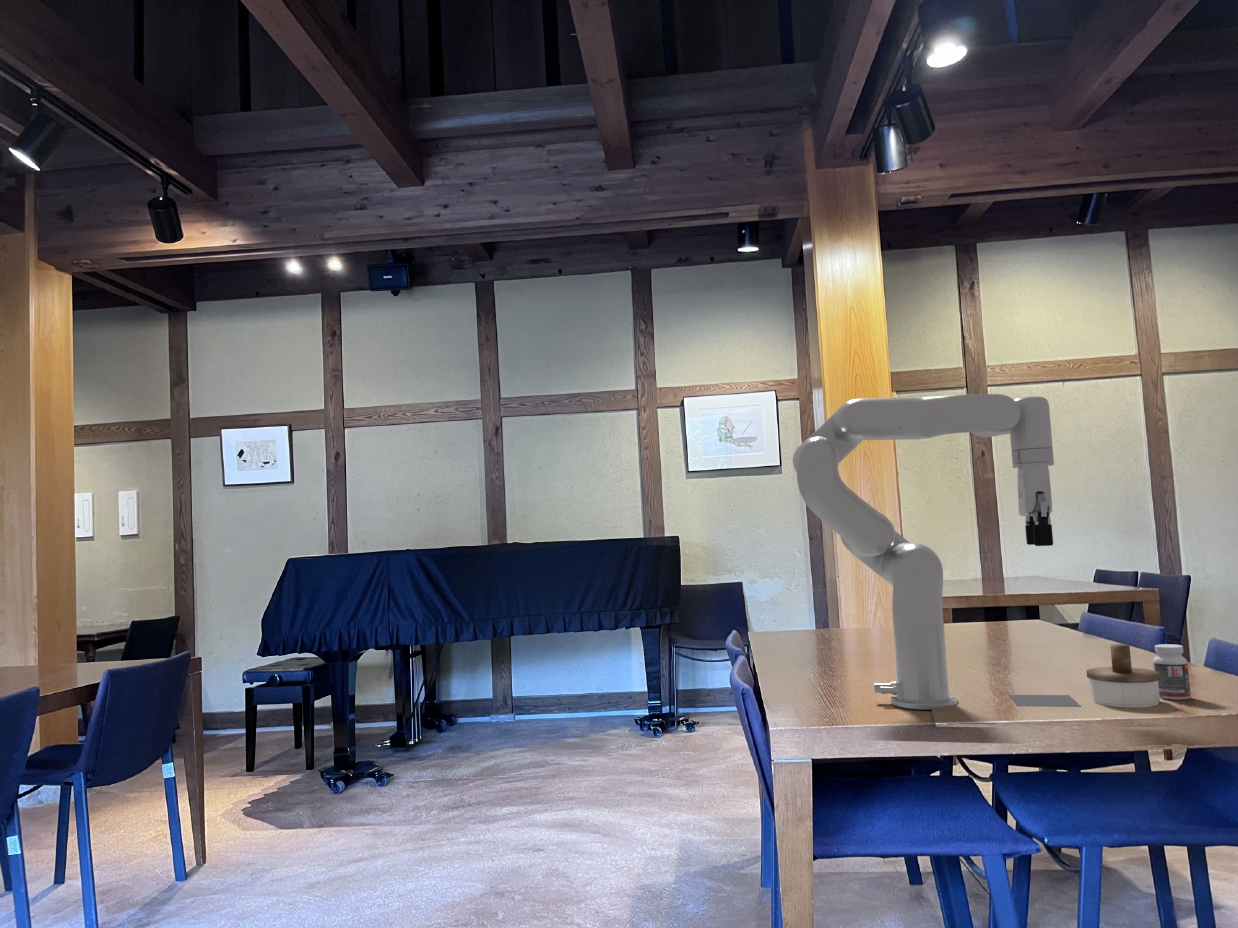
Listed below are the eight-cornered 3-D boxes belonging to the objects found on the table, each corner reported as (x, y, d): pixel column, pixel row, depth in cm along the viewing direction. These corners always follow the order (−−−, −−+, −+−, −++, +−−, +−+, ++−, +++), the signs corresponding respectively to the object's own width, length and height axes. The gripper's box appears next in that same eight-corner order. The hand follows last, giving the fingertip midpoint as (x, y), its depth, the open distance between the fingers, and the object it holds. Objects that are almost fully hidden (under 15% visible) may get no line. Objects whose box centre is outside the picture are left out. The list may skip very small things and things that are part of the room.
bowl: (1099, 709, 162) (1097, 682, 163) (1086, 698, 173) (1084, 672, 173) (1167, 710, 159) (1164, 682, 160) (1149, 698, 170) (1147, 672, 170)
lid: (1094, 682, 162) (1092, 649, 163) (1080, 671, 174) (1078, 641, 174) (1168, 682, 159) (1165, 649, 160) (1149, 672, 171) (1146, 640, 171)
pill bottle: (1196, 700, 167) (1191, 647, 167) (1163, 700, 168) (1158, 647, 169) (1183, 694, 172) (1178, 643, 173) (1151, 695, 173) (1146, 643, 174)
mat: (1017, 708, 166) (1016, 705, 166) (1009, 697, 177) (1008, 694, 177) (1081, 709, 163) (1081, 706, 163) (1069, 698, 174) (1069, 695, 174)
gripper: (1006, 463, 185) (1012, 544, 184) (1018, 457, 169) (1025, 547, 168) (1045, 460, 183) (1052, 543, 182) (1061, 454, 167) (1069, 545, 165)
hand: (1039, 545), depth 175 cm, fingers open, 9 cm apart
